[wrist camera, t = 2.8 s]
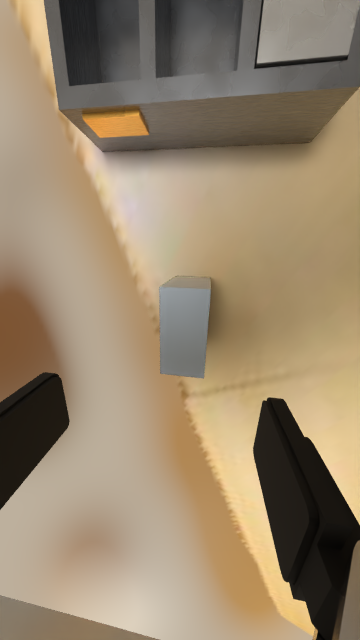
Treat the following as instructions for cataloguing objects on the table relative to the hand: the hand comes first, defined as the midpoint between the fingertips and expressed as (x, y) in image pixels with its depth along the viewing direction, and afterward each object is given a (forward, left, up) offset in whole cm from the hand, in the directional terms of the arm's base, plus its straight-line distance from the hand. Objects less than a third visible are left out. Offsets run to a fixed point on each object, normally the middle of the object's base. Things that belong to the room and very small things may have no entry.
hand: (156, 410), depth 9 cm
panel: (0, 0, -16) cm, 16 cm away
